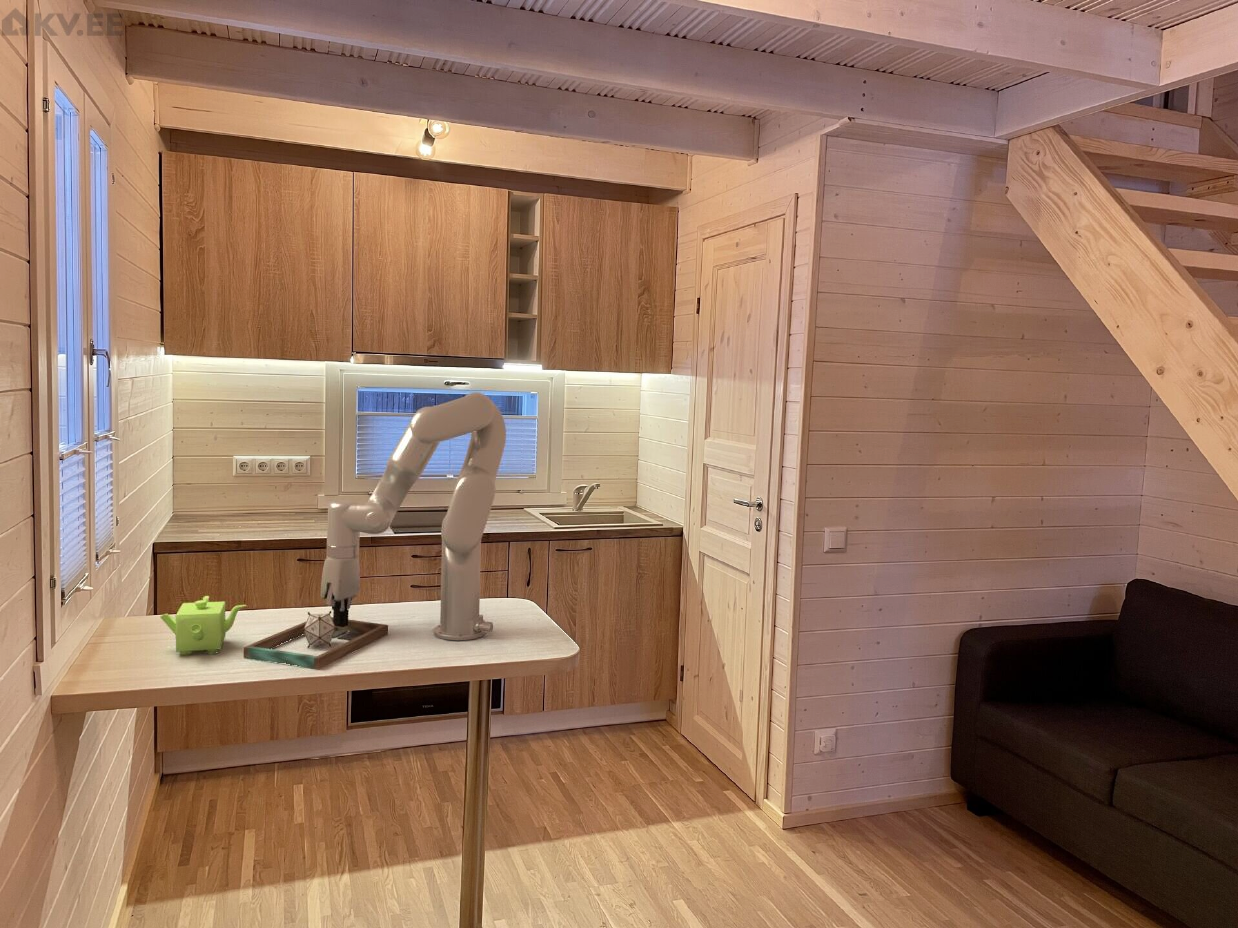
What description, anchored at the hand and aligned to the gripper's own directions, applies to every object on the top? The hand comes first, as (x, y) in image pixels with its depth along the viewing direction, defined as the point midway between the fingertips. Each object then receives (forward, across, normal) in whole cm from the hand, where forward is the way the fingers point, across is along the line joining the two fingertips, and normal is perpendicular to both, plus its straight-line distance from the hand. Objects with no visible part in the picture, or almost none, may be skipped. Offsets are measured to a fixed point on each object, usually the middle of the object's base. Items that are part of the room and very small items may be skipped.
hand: (340, 625), depth 221 cm
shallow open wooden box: (+2, +9, +1) cm, 10 cm away
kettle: (+3, +21, -21) cm, 30 cm away
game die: (+3, +9, +1) cm, 10 cm away
